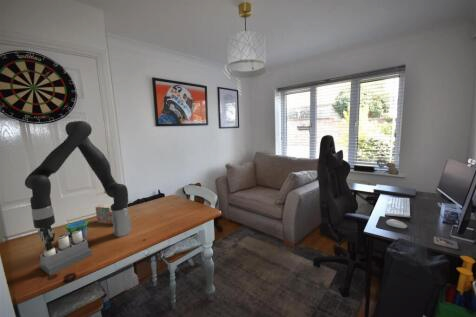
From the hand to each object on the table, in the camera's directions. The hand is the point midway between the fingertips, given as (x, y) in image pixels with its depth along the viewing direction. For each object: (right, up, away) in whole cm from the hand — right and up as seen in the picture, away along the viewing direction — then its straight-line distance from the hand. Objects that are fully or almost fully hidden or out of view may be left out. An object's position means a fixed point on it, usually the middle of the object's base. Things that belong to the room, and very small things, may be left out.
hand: (49, 249), depth 103 cm
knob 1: (0, -6, +1) cm, 6 cm away
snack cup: (-7, -6, +29) cm, 30 cm away
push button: (-4, -8, +18) cm, 20 cm away
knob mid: (+3, -2, +6) cm, 7 cm away
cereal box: (0, -3, +53) cm, 53 cm away
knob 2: (+6, -1, +11) cm, 12 cm away
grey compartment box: (+3, -9, +7) cm, 11 cm away
